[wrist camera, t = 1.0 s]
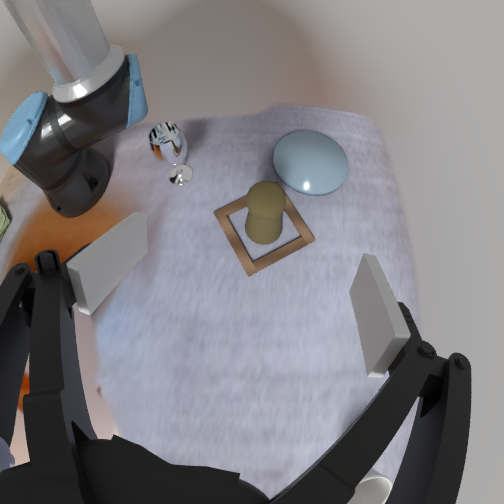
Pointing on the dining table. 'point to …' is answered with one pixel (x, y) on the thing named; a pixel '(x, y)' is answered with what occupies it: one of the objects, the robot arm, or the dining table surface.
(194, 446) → the dining table surface
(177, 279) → the dining table surface
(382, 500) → the dixie cup
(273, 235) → the cork
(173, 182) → the wineglass
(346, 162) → the saucer
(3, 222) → the washcloth
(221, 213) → the walnut frame
